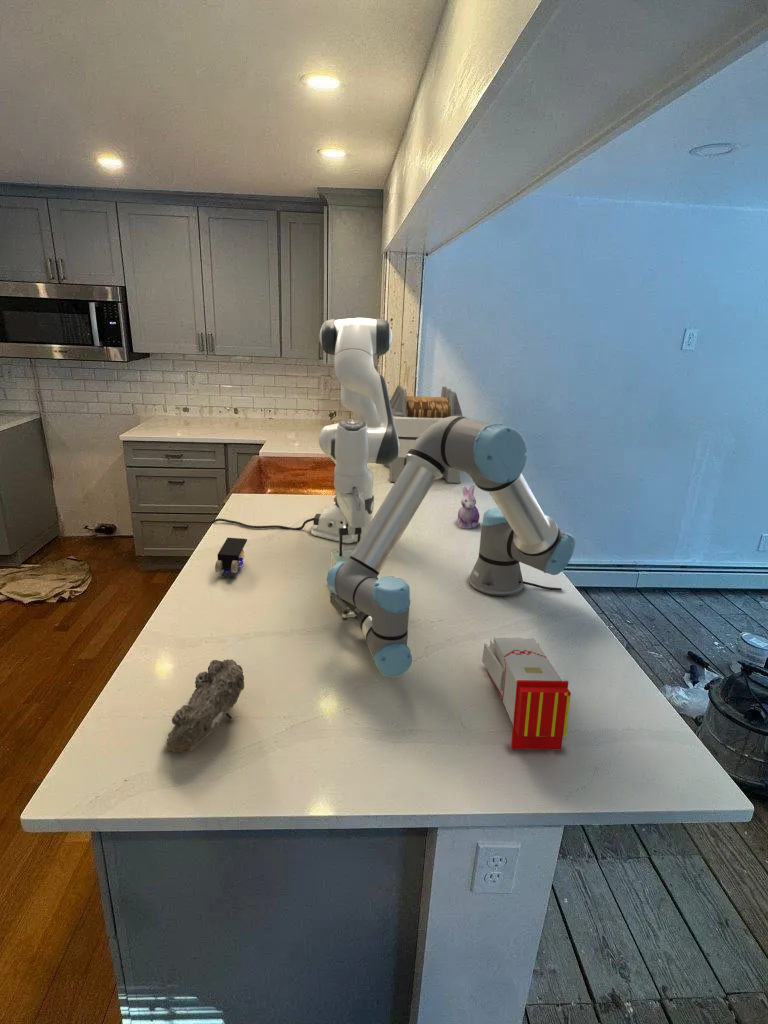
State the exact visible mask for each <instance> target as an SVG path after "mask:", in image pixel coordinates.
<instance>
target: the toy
mask: <svg viewBox="0 0 768 1024" xmlns="http://www.w3.org/2000/svg"><path fill="white" fill-rule="evenodd" d="M481 662H482V664H483V665H484V667H485V670H486V671H487V673H488V675H489V677H490V679H491V681H492V683H493V685H494V687H495V688H496V691H497V692H498V694H499V697H500V698H501V701H502V703H503V705H504V708H505V710H506V712H507V715H508V717H509V719H510V722H511V723H512V731H511V732H512V733H511V744H510V749H511V750H552V751H553V750H556V751H557V750H561V751H562V746H563V738H566V737H567V730H568V723H569V712H570V703H571V696H572V695H571V694H572V693H571V691H570V690H569V681H568V680H563V679H562V678H561V676H560V675H559V673H558V672H557V670H556V669H555V667H554V666H553V665H552V663H551V661H550V660H549V658H548V657H547V655H546V654H545V652H544V650H543V649H542V647H541V645H540V643H539V642H537V641H536V639H535V638H534V637H503V636H502V637H497V636H496V637H495V636H494V637H493V638H490V640H489V644H488V643H484V644H483V651H482V659H481Z"/></svg>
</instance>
